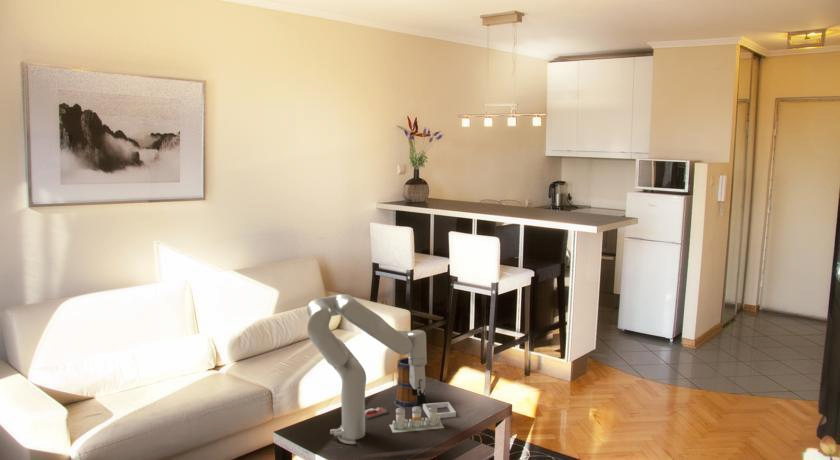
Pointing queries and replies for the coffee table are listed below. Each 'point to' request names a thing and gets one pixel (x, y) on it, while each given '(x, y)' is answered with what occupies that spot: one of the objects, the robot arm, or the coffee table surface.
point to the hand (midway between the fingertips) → (418, 399)
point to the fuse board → (409, 428)
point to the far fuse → (432, 415)
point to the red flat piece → (375, 412)
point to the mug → (405, 386)
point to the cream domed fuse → (400, 418)
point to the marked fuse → (416, 417)
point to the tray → (440, 405)
